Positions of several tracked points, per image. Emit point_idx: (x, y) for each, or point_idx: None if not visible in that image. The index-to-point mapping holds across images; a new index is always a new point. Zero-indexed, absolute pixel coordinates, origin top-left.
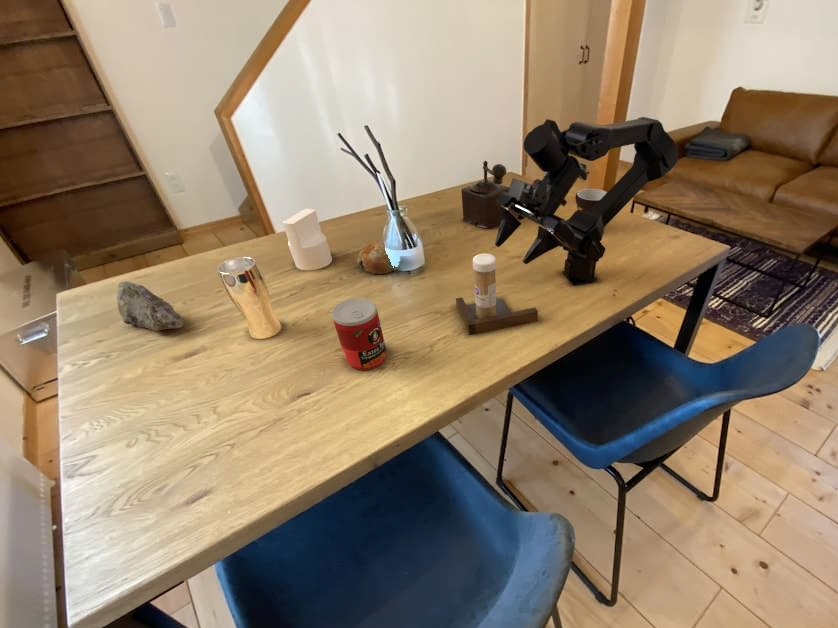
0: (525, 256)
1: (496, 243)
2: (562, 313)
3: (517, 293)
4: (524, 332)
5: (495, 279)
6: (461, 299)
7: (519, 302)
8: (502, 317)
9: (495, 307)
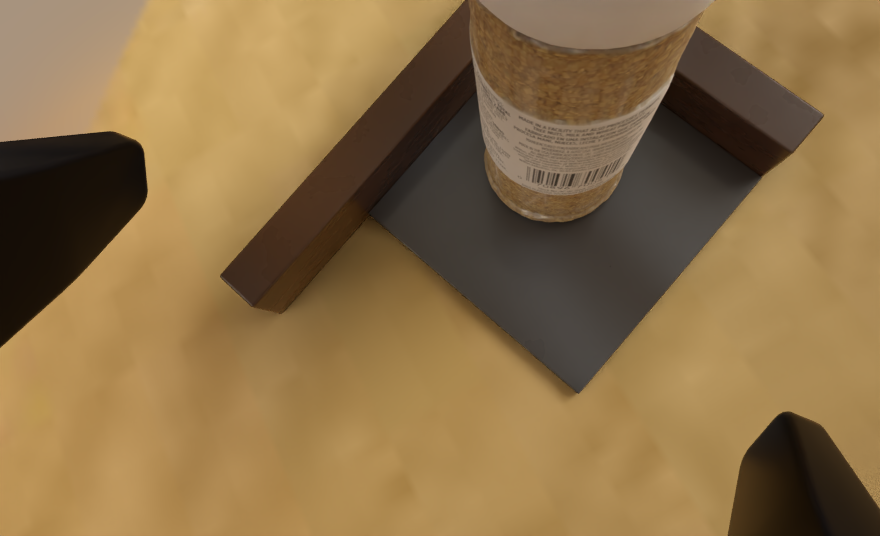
0: (69, 155)
1: (793, 425)
2: (145, 442)
3: (518, 527)
4: (272, 149)
5: (482, 63)
6: (774, 123)
7: (447, 423)
8: (392, 92)
9: (488, 153)
